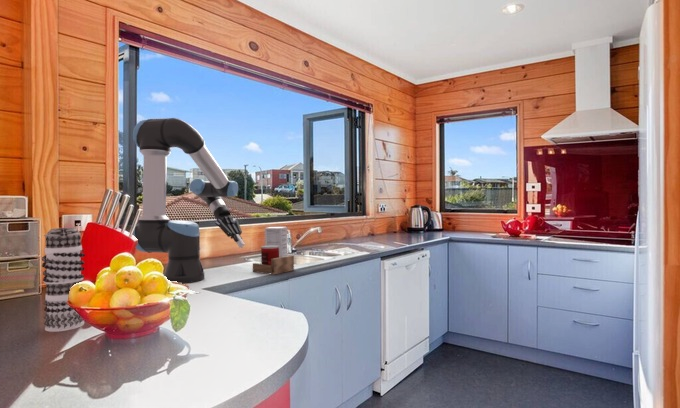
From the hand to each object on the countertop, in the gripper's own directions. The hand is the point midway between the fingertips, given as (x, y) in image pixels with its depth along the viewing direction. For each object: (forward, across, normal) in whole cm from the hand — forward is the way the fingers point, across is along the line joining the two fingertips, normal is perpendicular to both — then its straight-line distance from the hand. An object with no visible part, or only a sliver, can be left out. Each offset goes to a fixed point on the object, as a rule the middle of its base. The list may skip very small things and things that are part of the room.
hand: (242, 246), depth 193 cm
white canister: (+5, -26, -9) cm, 28 cm away
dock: (+21, 0, +8) cm, 23 cm away
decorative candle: (+32, +86, +16) cm, 93 cm away
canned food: (+21, +1, +7) cm, 22 cm away
